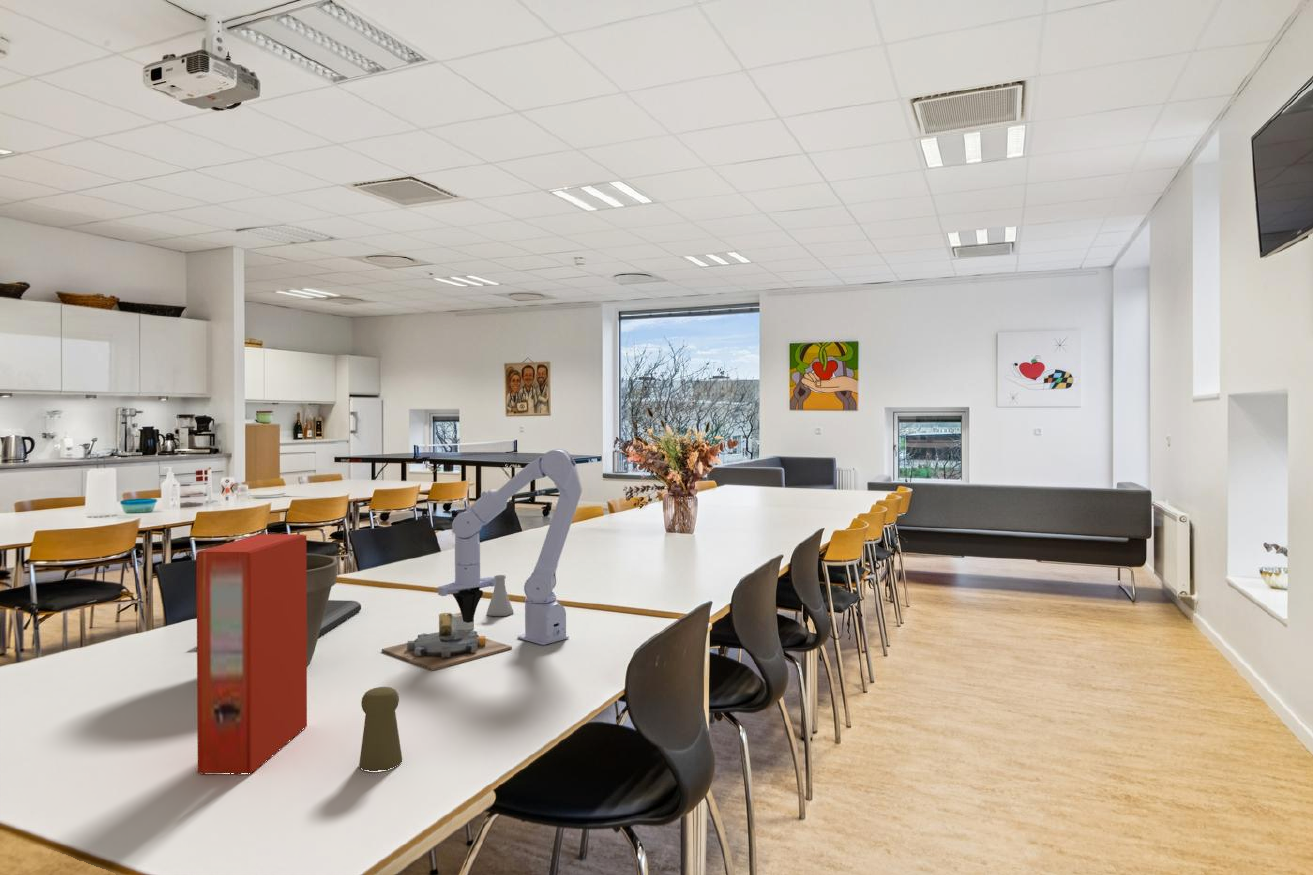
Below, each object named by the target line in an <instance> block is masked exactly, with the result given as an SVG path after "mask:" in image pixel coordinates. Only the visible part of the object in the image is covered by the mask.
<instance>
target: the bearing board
mask: <svg viewBox="0 0 1313 875" xmlns="http://www.w3.org/2000/svg"><path fill="white" fill-rule="evenodd" d="M508 649H510V650H512V649H513V646H512V645H509V644H506V643H502V642H499V641H496V640H492V639H488V638H486V645H479V646H478V651H476V652H473V653H469V652H465V653H461V654H455V655H450V657H444V658H441V656H430V655H424V656H421V657H420V656H415V652H414V650H407V642H406V643H402V644H401V643H400V644H398V645H393V646H388V647H384V648H381V652H382V651H383V652H382V653H384V652H385V653H384V654H386V653H388V654H387V655H389V654H390V655H389V656H392V655H393V656H392V657H394V656H395V658H397V657H398V659H400V660H402V659H403V661H405V662H408V663H411V664H413V665H415V666H418V665H420V666H419V667H421V666H423V667H422V668H424V667H425V668H424V669H426V668H428V669H427V670H429V669H431V670H430V671H432V670H434V671H436V670H435V669H437V670H440V669H439V668H441V669H444V668H443V667H445V668H447V667H446V666H448V667H450V666H449V665H452V666H455V665H459V664H461V663H465V662H469V661H474V660H477V659H481V658H484V656H485V657H488V656H491V654H492V655H495V654H494V653H496V654H498V653H497V652H499V653H502V652H501V651H503V652H505V651H504V650H507V651H509V650H508ZM487 655H488V656H487Z"/></svg>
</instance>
